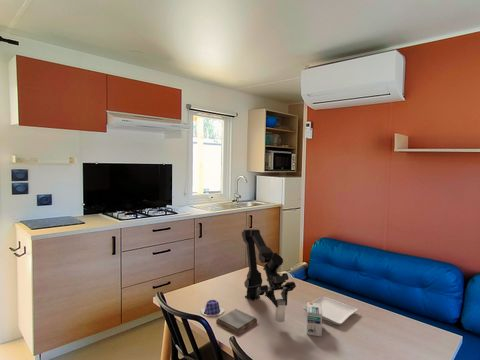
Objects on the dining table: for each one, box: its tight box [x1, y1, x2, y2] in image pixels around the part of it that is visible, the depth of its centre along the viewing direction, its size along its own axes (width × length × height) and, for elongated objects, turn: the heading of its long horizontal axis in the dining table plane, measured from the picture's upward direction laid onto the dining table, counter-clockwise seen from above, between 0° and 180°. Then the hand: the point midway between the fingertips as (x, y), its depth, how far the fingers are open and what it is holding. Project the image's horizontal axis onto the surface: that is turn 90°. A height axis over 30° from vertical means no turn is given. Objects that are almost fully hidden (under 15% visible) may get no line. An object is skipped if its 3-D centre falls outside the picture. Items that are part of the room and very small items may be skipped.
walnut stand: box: [215, 308, 258, 336], centre depth 149 cm, size 14×14×2 cm
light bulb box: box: [306, 301, 323, 337], centre depth 145 cm, size 11×7×11 cm, turn 168°
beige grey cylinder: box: [274, 298, 286, 323], centre depth 145 cm, size 4×4×9 cm
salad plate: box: [302, 295, 359, 326], centre depth 161 cm, size 21×21×3 cm
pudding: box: [200, 299, 225, 317], centre depth 160 cm, size 12×12×5 cm
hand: (281, 306), depth 144 cm, fingers closed on beige grey cylinder, 4 cm apart
